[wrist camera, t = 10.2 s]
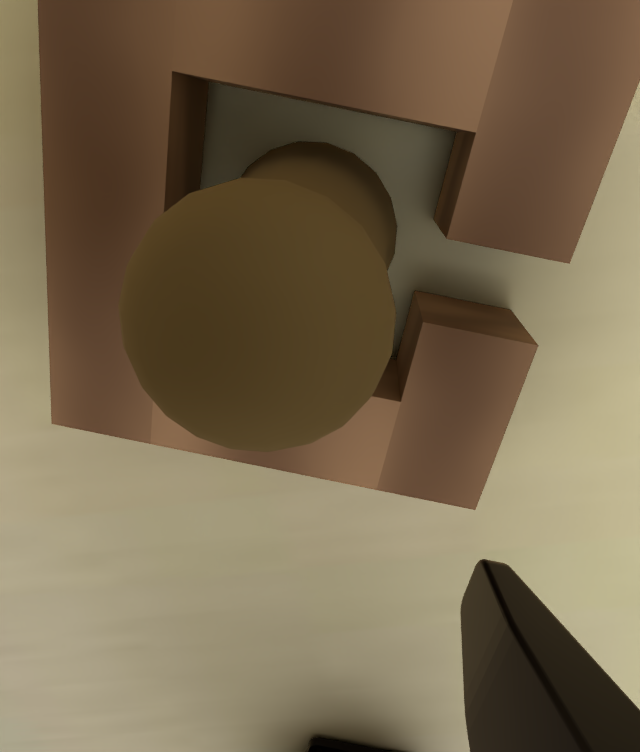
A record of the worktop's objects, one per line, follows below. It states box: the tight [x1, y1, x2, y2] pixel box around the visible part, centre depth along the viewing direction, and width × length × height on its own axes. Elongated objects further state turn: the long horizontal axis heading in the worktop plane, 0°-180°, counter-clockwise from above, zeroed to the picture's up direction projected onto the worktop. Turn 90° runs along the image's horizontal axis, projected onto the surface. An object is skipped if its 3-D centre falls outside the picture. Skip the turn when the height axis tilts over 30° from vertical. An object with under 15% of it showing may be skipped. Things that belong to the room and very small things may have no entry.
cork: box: [118, 142, 397, 452], centre depth 14 cm, size 6×6×11 cm
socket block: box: [38, 0, 640, 510], centre depth 17 cm, size 15×15×4 cm
